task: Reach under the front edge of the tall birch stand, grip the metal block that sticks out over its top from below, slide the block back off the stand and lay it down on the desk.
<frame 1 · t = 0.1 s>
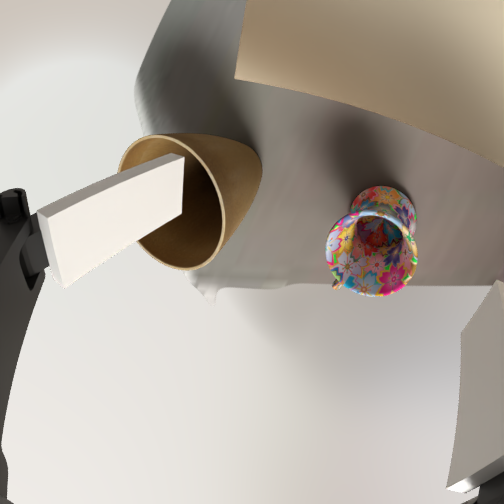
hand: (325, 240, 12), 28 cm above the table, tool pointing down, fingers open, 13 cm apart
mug: (377, 223, 39), on the table
plant pot: (241, 166, 44), on the table
birch stand: (445, 52, 25), on the table
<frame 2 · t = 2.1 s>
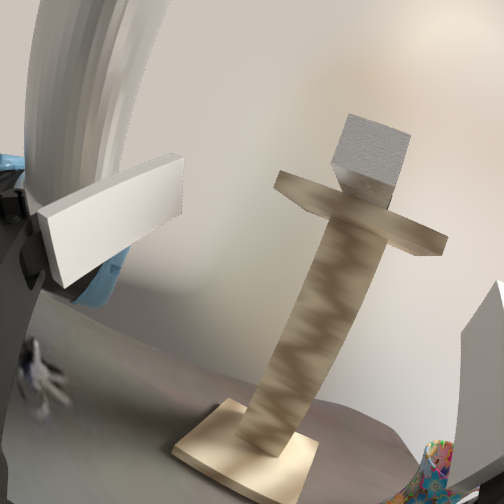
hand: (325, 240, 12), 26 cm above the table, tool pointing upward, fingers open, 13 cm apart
birch stand: (251, 454, 33), on the table
metal block: (364, 206, 26), point 30 cm above the table, touching birch stand
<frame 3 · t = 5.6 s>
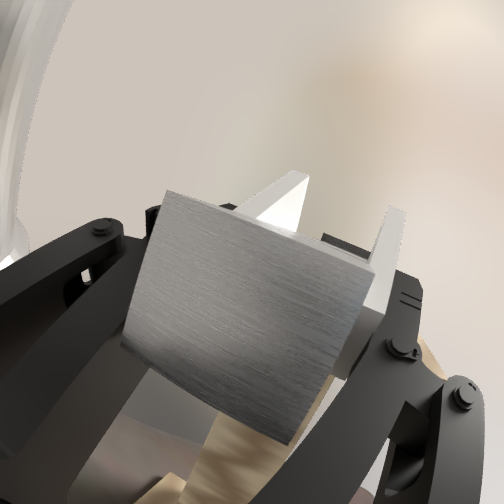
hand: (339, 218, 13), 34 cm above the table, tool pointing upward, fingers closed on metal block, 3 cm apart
metal block: (309, 305, 15), point 30 cm above the table, touching birch stand, gripper
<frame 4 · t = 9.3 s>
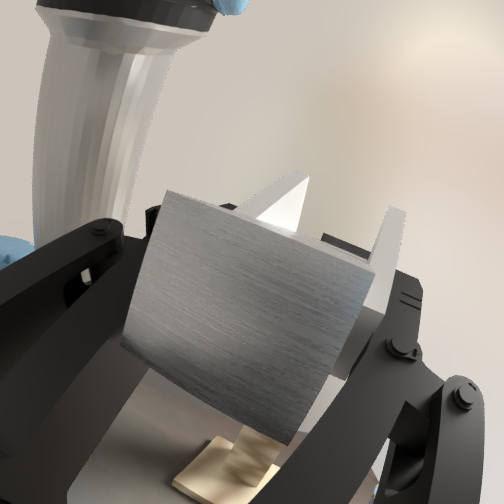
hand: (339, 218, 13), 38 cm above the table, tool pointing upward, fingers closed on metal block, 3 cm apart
birch stand: (235, 484, 39), on the table
metal block: (309, 304, 15), point 34 cm above the table, touching gripper
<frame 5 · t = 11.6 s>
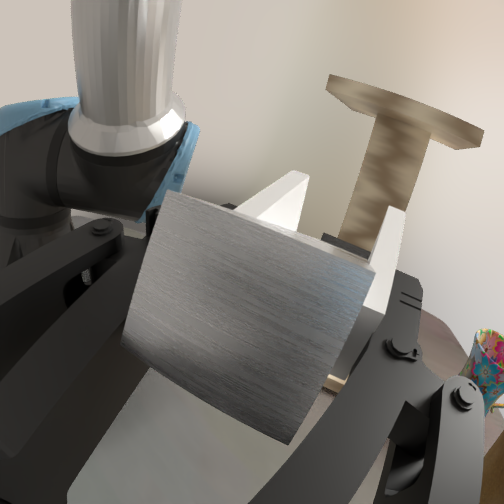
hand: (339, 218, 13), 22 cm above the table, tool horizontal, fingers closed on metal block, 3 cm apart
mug: (463, 417, 31), on the table
birch stand: (319, 344, 40), on the table
metal block: (309, 304, 15), point 17 cm above the table, tilted 19°, touching gripper
when the fingers open (12 cm above the table, at t = 13.3 s): metal block drops 8 cm, on the table.
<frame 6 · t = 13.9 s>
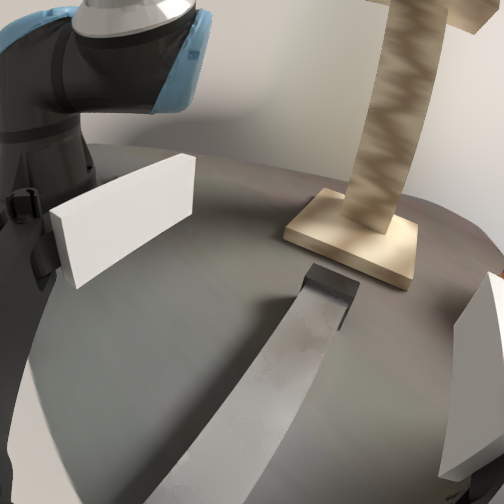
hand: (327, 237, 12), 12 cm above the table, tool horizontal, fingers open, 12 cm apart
birch stand: (358, 235, 37), on the table
metal block: (266, 407, 18), on the table
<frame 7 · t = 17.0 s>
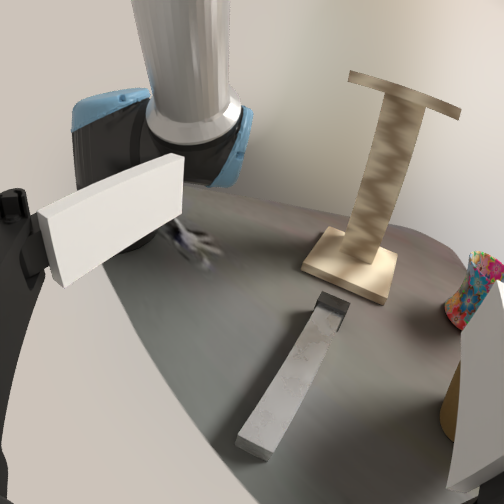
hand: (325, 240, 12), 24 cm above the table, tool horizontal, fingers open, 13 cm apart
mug: (467, 323, 44), on the table
plant pot: (459, 420, 29), on the table
birch stand: (352, 265, 53), on the table
metal block: (297, 375, 34), on the table
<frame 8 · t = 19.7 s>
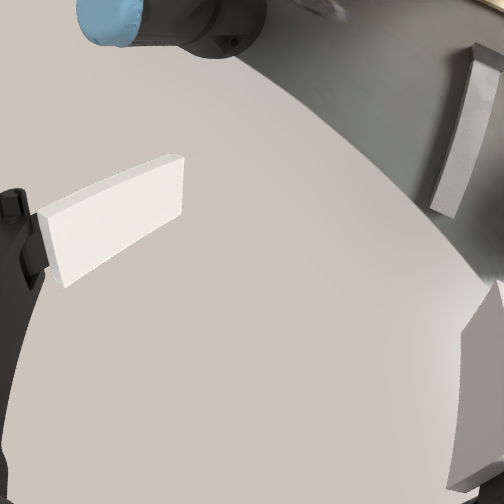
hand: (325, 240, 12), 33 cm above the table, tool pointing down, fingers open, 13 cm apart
metal block: (467, 130, 31), on the table
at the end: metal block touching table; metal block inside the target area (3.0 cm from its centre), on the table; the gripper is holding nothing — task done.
